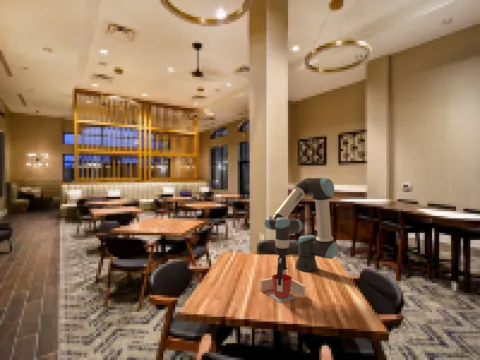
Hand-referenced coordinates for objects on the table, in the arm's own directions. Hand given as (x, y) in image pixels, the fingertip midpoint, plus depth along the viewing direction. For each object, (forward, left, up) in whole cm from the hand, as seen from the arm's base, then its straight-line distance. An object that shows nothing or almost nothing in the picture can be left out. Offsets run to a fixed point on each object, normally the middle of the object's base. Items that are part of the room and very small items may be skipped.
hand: (281, 286), depth 141 cm
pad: (0, 0, -5) cm, 5 cm away
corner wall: (-2, -2, -5) cm, 6 cm away
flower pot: (0, 0, -5) cm, 5 cm away
